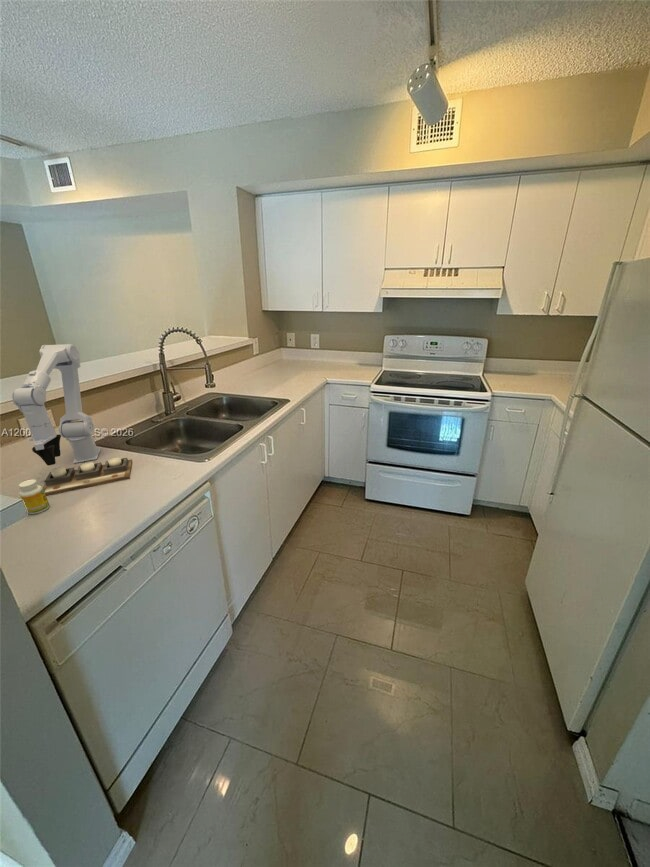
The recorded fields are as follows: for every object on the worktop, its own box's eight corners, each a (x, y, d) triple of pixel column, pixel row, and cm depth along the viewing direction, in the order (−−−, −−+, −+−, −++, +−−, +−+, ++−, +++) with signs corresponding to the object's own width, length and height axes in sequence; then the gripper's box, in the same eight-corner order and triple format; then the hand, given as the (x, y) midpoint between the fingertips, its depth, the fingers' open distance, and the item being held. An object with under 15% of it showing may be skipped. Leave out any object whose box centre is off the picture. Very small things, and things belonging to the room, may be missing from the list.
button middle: (83, 469, 120) (81, 463, 119) (96, 466, 121) (94, 461, 120) (81, 474, 117) (79, 468, 116) (94, 471, 118) (92, 466, 117)
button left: (55, 474, 117) (52, 468, 116) (68, 472, 118) (66, 466, 117) (51, 480, 113) (49, 474, 112) (65, 477, 115) (63, 471, 114)
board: (51, 476, 120) (48, 469, 118) (132, 461, 129) (130, 454, 128) (39, 497, 108) (35, 489, 107) (129, 478, 118) (127, 471, 116)
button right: (110, 464, 123) (108, 458, 122) (122, 461, 125) (121, 456, 124) (109, 469, 120) (107, 463, 119) (121, 466, 121) (119, 460, 120)
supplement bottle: (26, 509, 102) (14, 483, 98) (48, 502, 105) (37, 476, 102) (29, 517, 99) (17, 489, 95) (51, 508, 102) (40, 482, 98)
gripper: (31, 418, 112) (46, 453, 118) (16, 433, 100) (32, 472, 106) (56, 414, 115) (69, 449, 120) (44, 429, 103) (59, 467, 108)
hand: (54, 460), depth 113 cm, fingers open, 6 cm apart
